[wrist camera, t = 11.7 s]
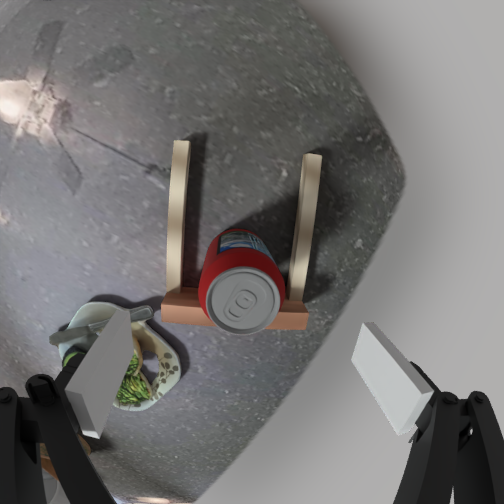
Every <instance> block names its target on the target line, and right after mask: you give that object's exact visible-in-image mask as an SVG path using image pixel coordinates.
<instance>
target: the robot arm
mask: <svg viewBox="0 0 504 504" xmlns="http://www.w3.org/2000/svg"><path fill="white" fill-rule="evenodd" d="M133 355H134V347H133V339H132V330H131V320H130V312H129V311H121V310H116V312H115V313H114V315H113V316H112V317H111V319H110V320H109V322H108V323H107V325H106V326H105V328H104V329H103V330H102V332H101V333H100V335H99V336H98V338H97V339H96V341H95V342H94V344H93V345H92V347H91V348H90V350H89V351H88V353H87V354H82V353H77V354H75V355H74V356H72V357H71V358H70V359H69V360H68V362H67V363H66V366H64V368H63V369H62V371H61V372H60V373H59V375H58V376H57V378H56V379H55V381H54V380H53V378H52V377H50V376H49V375H45V374H37V375H34V376H32V377H31V378H29V379H28V380H27V382H26V385H25V388H26V391H27V393H28V395H29V397H30V398H24V397H18V395H17V393H16V391H15V390H14V389H12V388H10V387H2V388H0V504H47V501H46V495H45V489H44V482H43V475H42V466H41V455H40V443H44V444H45V447H46V450H47V452H48V455H49V458H50V460H51V463H52V465H53V468H54V470H55V472H56V475H57V477H58V479H59V482H60V484H61V486H62V488H63V490H64V492H65V494H66V496H67V498H68V500H69V502H70V504H117V503H116V502H115V500H114V499H113V497H112V496H111V494H110V493H109V491H108V489H107V488H106V486H105V485H104V483H103V481H102V480H101V478H100V476H99V475H98V473H97V471H96V469H95V468H94V466H93V464H92V462H91V460H90V458H89V456H88V455H87V453H86V451H85V449H84V447H83V445H82V443H81V441H80V439H79V436H78V434H77V432H78V430H79V428H81V430H82V432H83V434H84V435H87V436H90V437H94V438H98V439H100V436H101V434H102V431H103V428H104V426H105V423H106V420H107V418H108V415H109V412H110V410H111V407H112V405H113V402H114V400H115V397H116V395H117V392H118V390H119V387H120V385H121V383H122V380H123V378H124V375H125V373H126V371H127V368H128V366H129V364H130V361H131V359H132V357H133ZM351 361H352V362H353V364H354V366H355V367H356V369H357V370H358V372H359V374H360V375H361V377H362V378H363V380H364V382H365V383H366V385H367V386H368V388H369V390H370V391H371V393H372V394H373V396H374V398H375V399H376V401H377V402H378V404H379V406H380V407H381V409H382V410H383V412H384V414H385V415H386V417H387V419H388V420H389V422H390V423H391V425H392V427H393V429H394V430H395V432H396V434H397V435H400V434H404V433H407V432H410V430H411V429H412V427H413V426H414V424H416V425H417V427H418V429H417V430H416V432H415V433H414V435H413V436H412V438H411V439H410V441H409V443H411V441H412V440H413V443H412V447H411V451H410V454H409V458H408V461H407V465H406V468H405V471H404V475H403V477H402V480H401V483H400V486H399V489H398V492H397V495H396V497H395V500H394V503H393V504H449V503H450V498H451V494H452V488H454V489H453V490H454V504H504V439H503V436H502V433H501V430H500V427H499V424H498V422H497V419H496V416H495V414H494V411H493V408H492V406H491V403H490V401H489V399H488V397H487V396H486V395H485V394H484V393H482V392H479V391H473V392H471V394H470V395H469V397H468V399H458V398H457V396H456V395H454V394H452V393H450V392H441V391H440V390H439V389H438V387H437V386H436V385H435V384H434V383H433V382H432V381H431V379H430V378H428V376H427V375H426V374H425V373H424V372H423V371H422V369H421V368H420V367H419V366H418V365H416V364H414V363H413V362H409V361H408V360H407V359H406V358H405V357H404V356H403V354H402V353H401V352H400V351H399V350H398V349H397V348H396V347H395V345H394V344H393V343H392V342H391V341H390V340H389V339H388V338H387V337H386V335H385V334H384V333H383V332H382V331H381V330H380V329H379V328H378V327H377V326H376V324H374V323H373V322H371V323H369V322H368V323H363V324H362V327H361V331H360V334H359V337H358V340H357V344H356V347H355V350H354V353H353V356H352V359H351ZM471 429H473V432H472V434H470V430H471Z"/></svg>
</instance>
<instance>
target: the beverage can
mask: <svg viewBox="0 0 504 504" xmlns="http://www.w3.org/2000/svg"><path fill="white" fill-rule="evenodd" d="M198 297H199V302H200V305H201V308H202V310H203V311H204V313H205V314H206V316H207V317H208V318H209V319H210V320H211V321H212V322H213V323H214V324H215V325H216V326H217V327H219V328H220V329H222V330H223V331H225V332H227V333H230V334H234V335H250V334H254V333H257V332H259V331H261V330H263V329H265V328H266V327H267V326H269V325H270V324H271V323H272V322H273V320H274V319H275V317H276V316H277V314H278V313H279V311H280V309H281V307H282V305H283V302H284V298H285V284H284V280H283V277H282V275H281V273H280V271H279V269H278V267H277V265H276V263H275V261H274V259H273V258H272V256H271V254H270V252H269V251H268V249H267V247H266V246H265V244H264V242H263V241H262V240H261V239H260V238H259V237H258V236H257V235H256V234H254V233H253V232H251V231H248V230H245V229H230V230H227V231H224V232H222V233H221V234H219V235H218V236H217V237H216V238H215V239H214V240H213V241H212V242H211V244H210V246H209V248H208V251H207V254H206V258H205V261H204V265H203V269H202V274H201V278H200V283H199V289H198Z"/></svg>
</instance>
